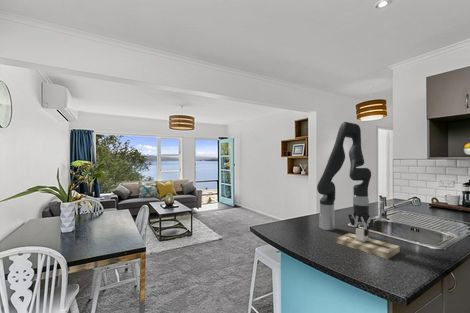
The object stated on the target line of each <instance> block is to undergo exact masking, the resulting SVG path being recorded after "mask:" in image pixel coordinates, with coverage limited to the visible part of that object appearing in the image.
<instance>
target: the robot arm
mask: <svg viewBox="0 0 470 313" xmlns="http://www.w3.org/2000/svg"><path fill="white" fill-rule="evenodd" d="M361 130H362V129H361V127H360V125H359V124H357V123H353V122H348V121H343V122H342V123H341V124H340V126H339V128H338V132H337V135H336V138H335V142H334V144H333V148H332V150H331V153H330V155H329V157H328V160H327V163H326V165H325V168H324V171H323V173H322V175H321V177H320V179H319V181H318V183H317V185H316V186H317V187H316V189H317V190H316V191H317V193H318V194H320V195H322V197H321V198H320V199H319V214H318V228H320V229H322V230H324V231H334V230H335V228H336V227H335V226H336V225H335V223H336V222H335V201H336V186H335V183H334V182H333V178H334V177H335V176H336V174H337V173H338V172H339V171H340V170H341V169H342V167H343V165H344V162H345V160H346V153H345V149H344V143H345V138H349V139H351V140H352V145H351V147H350V148H349V151H348V158H349V162H350V168H349V179H351V180H352V181H357V182H358V181H362V182H361V183H359V184H355V185H354V186H352V187H353V190H352V191H353V197H352V205H353V206H352V208H353V213H350V214H348V215H347V216H348V219H349V221H350V225H351V226H354V232H355V233H356V228H359V226H360V223H362V226H363V228H365V229H364V235H365V236H368V237H369V230H371V229H373V228H374V224H375V223H376V219H375V217H374V218H373V217H371V216H370V201H369V185H370V181H371V178H372V171H371V169H369V168H368V167H361V166H363V165H365V158H364V155H363V150H362V133H361V132H362V131H361Z"/></svg>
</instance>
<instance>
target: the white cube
mask: <svg viewBox="0 0 470 313" xmlns="http://www.w3.org/2000/svg"><path fill="white" fill-rule="evenodd" d="M358 227H359V226H358ZM364 229H365V228H364V227H361V226H360V227H359V228H356V232H355V234H356V237H355V238H354V239H355V240H358V241H362V242H365V241H367V240H369V238H370V237H369V235H368V236H365V235H364Z"/></svg>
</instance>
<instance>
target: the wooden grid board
mask: <svg viewBox="0 0 470 313" xmlns="http://www.w3.org/2000/svg"><path fill="white" fill-rule="evenodd" d="M355 237H356V233H352V232H348V233H345V234H343V235H340V236H338V237H336V244H339V245H342V246H346V247H348V248H352V249H355V250H357V251H360V252H365V253H367V254H371V255H372V256H376V257H380V258H383V259H386V260H389V259H391V258H392V257H394V256H396V255H397V254H399V253H400V252H401V251H400V249H401V248H400V245H397V244H393V243H391V242H390V243H389V242H386V241H383V240H382V241H381V240H379V239H373V238H371V237H368V238H369V240H367V241H365V242H362V241H358V240H355V239H354V238H355Z"/></svg>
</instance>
